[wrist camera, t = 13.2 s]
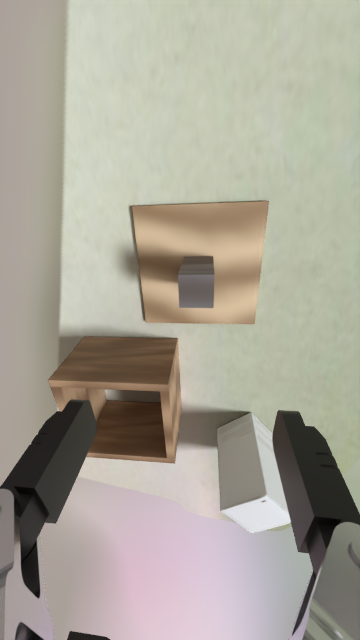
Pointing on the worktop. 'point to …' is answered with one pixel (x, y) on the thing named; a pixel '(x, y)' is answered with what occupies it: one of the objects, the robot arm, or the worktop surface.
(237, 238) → the lid
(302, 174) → the worktop surface
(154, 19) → the worktop surface
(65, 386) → the box
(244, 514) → the supplement box
